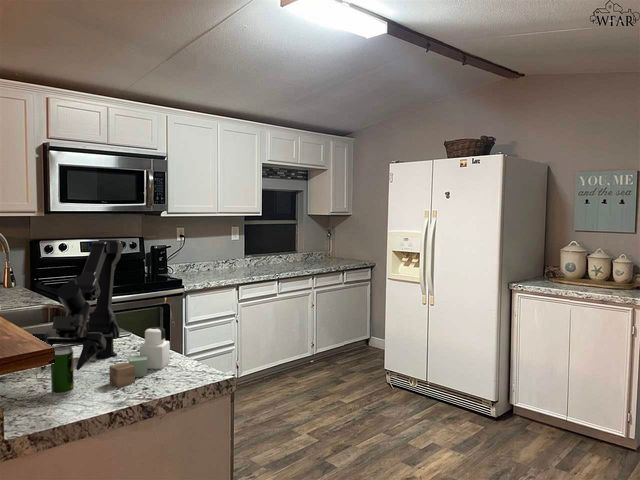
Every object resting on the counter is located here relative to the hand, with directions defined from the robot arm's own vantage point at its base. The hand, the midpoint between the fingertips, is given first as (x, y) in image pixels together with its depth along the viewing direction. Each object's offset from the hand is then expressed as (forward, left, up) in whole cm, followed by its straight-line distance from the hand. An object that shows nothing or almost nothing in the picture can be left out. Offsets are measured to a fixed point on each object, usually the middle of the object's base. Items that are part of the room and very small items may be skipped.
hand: (59, 369), depth 133 cm
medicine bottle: (-9, +29, -7) cm, 31 cm away
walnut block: (+1, +16, -7) cm, 17 cm away
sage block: (-4, +22, -7) cm, 23 cm away
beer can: (-1, +1, -7) cm, 7 cm away
